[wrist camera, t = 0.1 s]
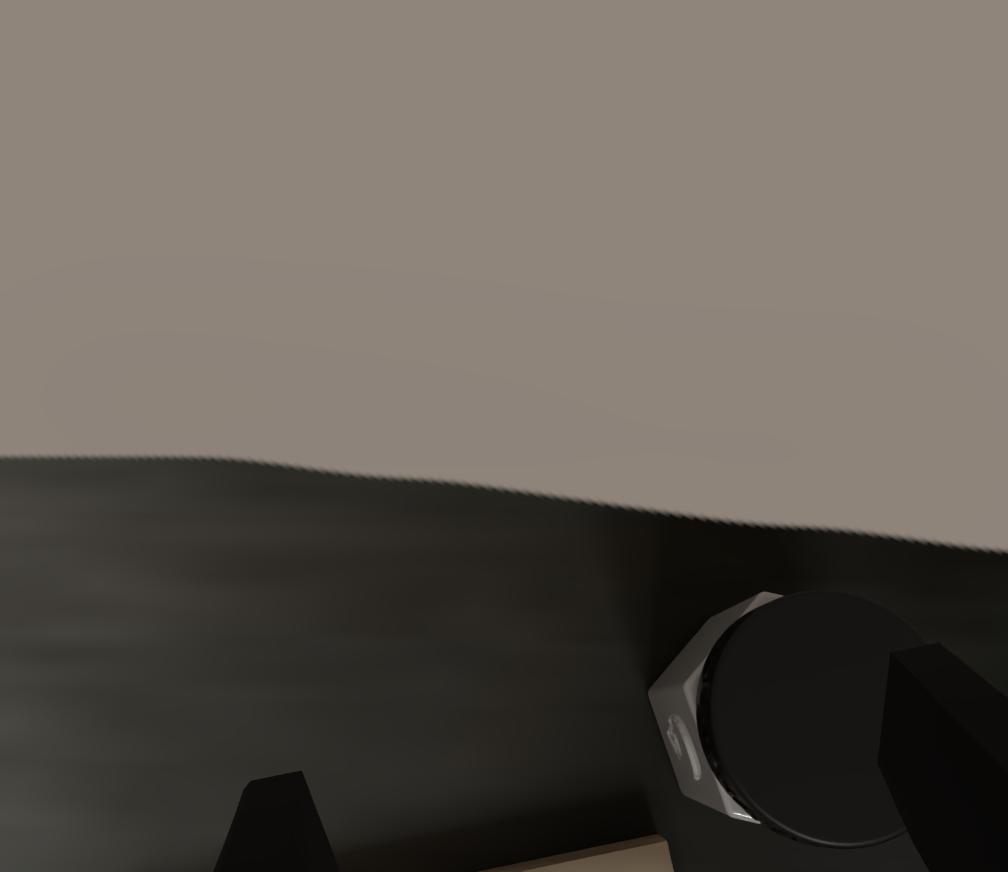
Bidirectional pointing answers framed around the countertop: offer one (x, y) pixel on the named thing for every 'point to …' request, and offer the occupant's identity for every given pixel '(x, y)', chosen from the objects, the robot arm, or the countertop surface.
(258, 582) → the countertop surface
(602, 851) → the board
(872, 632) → the jar
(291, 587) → the countertop surface
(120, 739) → the countertop surface
